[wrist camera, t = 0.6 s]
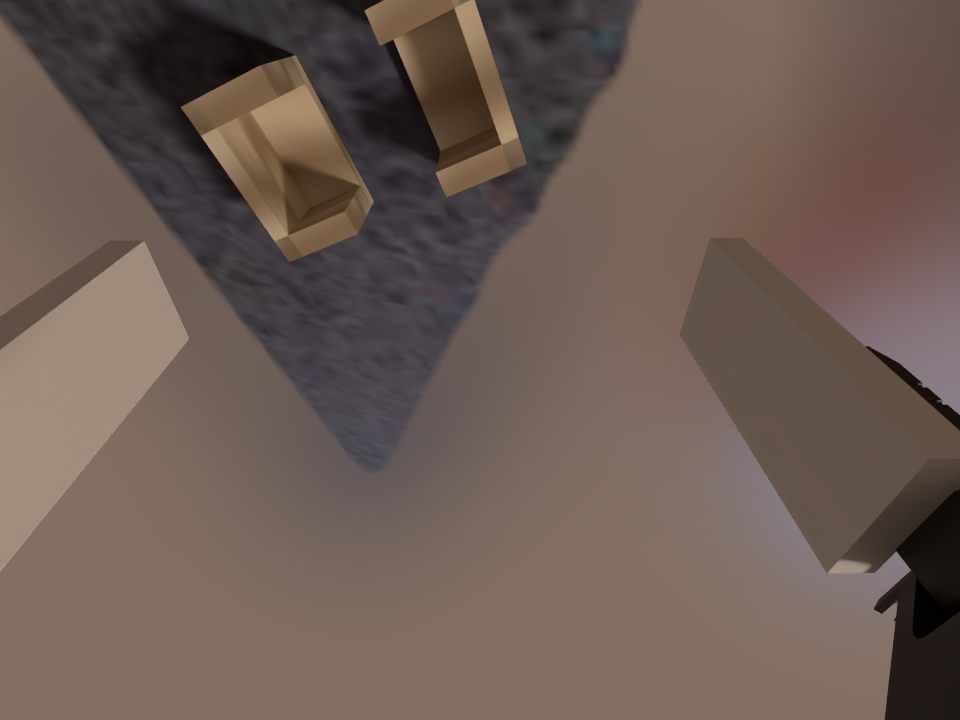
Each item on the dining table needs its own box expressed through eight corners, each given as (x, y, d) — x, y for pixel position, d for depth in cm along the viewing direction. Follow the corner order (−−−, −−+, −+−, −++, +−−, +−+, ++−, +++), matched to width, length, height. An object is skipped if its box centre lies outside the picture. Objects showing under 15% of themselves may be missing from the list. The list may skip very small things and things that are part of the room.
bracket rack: (228, 90, 29) (180, 107, 25) (463, -33, 26) (461, -41, 21) (314, 226, 35) (289, 262, 30) (518, 139, 31) (527, 163, 27)
